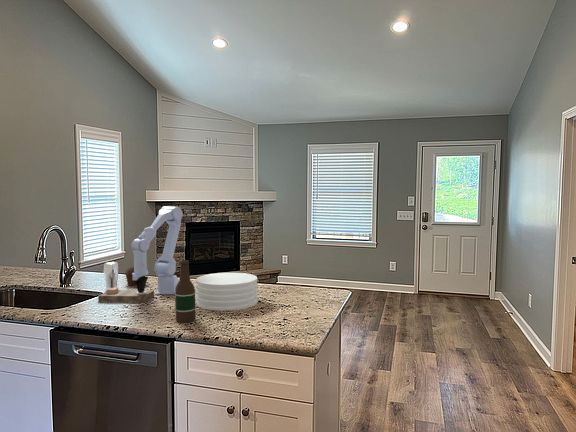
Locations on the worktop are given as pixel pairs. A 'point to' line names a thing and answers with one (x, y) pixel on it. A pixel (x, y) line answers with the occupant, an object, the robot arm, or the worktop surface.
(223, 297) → the plate stack
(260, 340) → the worktop surface
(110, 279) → the beer glass
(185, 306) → the beer bottle
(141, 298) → the wooden board
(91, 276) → the worktop surface
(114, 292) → the terracotta key
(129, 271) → the muffin
